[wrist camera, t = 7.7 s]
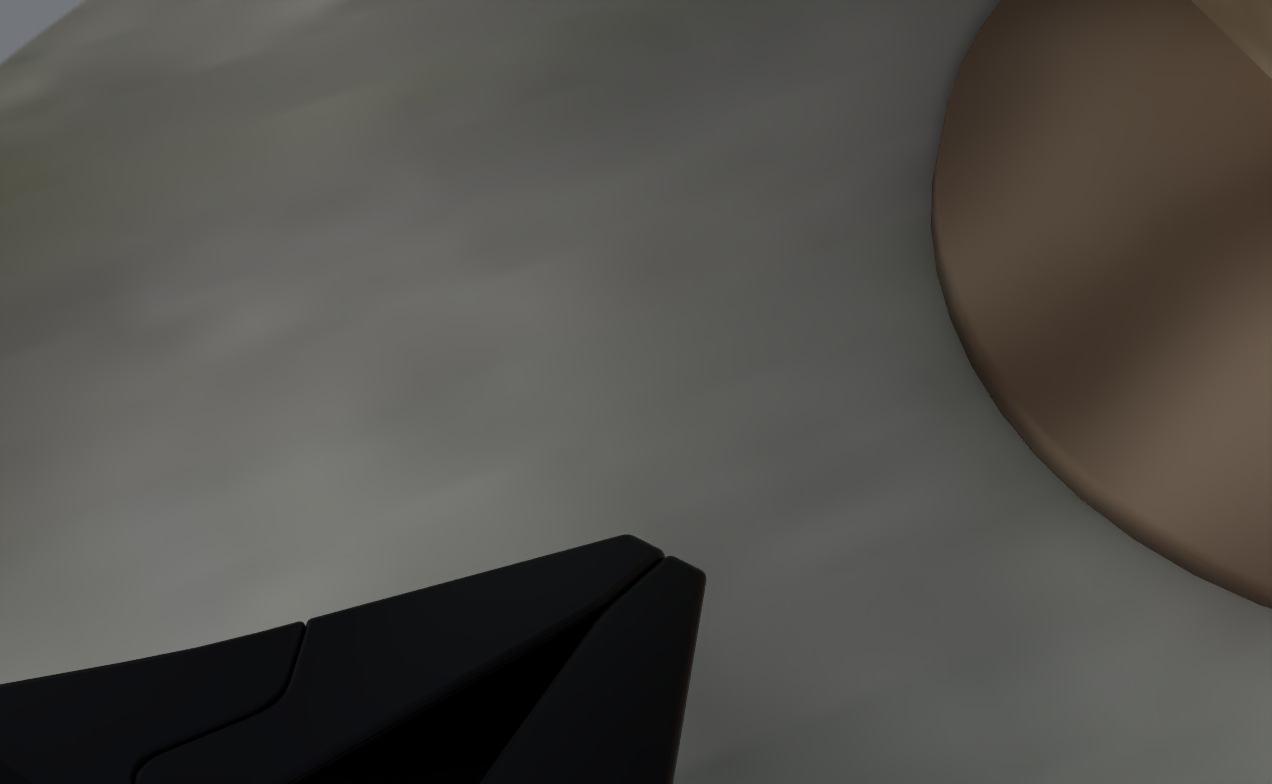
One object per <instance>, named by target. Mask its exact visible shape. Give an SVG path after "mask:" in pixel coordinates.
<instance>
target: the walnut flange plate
mask: <svg viewBox="0 0 1272 784" xmlns="http://www.w3.org/2000/svg"><path fill="white" fill-rule="evenodd" d="M931 228H932V236H933V244H934V251H935V259H936V267H937V273H938V277H939V280H940V284H941V287H942V291H943V294H944V298H945V301H946V305H947V308H948V312H949V315H950V319H951V321H952V323H953V325H954V328H955V330H956V332H957V334H958V337H959V339H960V341H961V343H962V345H963V348H964V350H965V352H966V354H967V357H968V359H969V361H970V363H971V365H972V367H973V369H974V370H975V372H976V373H977V375H978V377H979V378H980V380H981V382H982V383H983V385H984V386H985V388H986V390H987V391H988V393H989V394H990V396H991V398H992V399H993V401H994V402H995V404H996V406H997V407H998V409H999V410H1000V412H1001V413H1002V414H1003V416H1004V417H1005V418H1006V419H1007V420H1008V422H1009V423H1010V424H1011V425H1012V427H1013V428H1014V429H1015V430H1016V431H1017V433H1018V434H1019V435H1020V436H1021V438H1022V439H1023V440H1024V441H1025V442H1026V444H1027V445H1028V446H1029V447H1030V449H1031V450H1032V451H1033V452H1034V453H1035V455H1036V456H1037V457H1038V458H1039V459H1040V460H1041V461H1042V462H1043V463H1044V464H1045V465H1046V466H1047V467H1048V468H1049V469H1050V470H1051V471H1053V472H1054V473H1055V474H1056V475H1057V476H1058V477H1059V478H1060V479H1061V480H1062V481H1063V482H1064V483H1065V484H1066V485H1067V486H1068V487H1069V488H1070V489H1071V490H1072V491H1073V492H1075V493H1076V494H1077V495H1078V496H1079V497H1080V498H1081V499H1082V500H1083V501H1084V502H1086V503H1087V504H1088V505H1090V506H1091V507H1092V508H1094V509H1095V510H1096V511H1098V512H1099V513H1100V514H1102V515H1103V516H1104V517H1105V518H1107V519H1108V520H1109V521H1111V522H1112V523H1113V524H1115V525H1116V526H1117V527H1119V528H1120V529H1121V530H1123V531H1124V532H1125V533H1127V534H1128V535H1129V536H1131V537H1132V538H1133V539H1135V540H1136V541H1138V542H1140V543H1141V544H1143V545H1145V546H1146V547H1148V548H1150V549H1151V550H1153V551H1155V552H1156V553H1158V554H1160V555H1162V556H1163V557H1165V558H1167V559H1168V560H1170V561H1172V562H1173V563H1175V564H1177V565H1178V566H1180V567H1182V568H1183V569H1185V570H1187V571H1188V572H1190V573H1192V574H1193V575H1196V576H1198V577H1200V578H1202V579H1204V580H1207V581H1209V582H1211V583H1213V584H1215V585H1218V586H1220V587H1222V588H1224V589H1226V590H1229V591H1231V592H1233V593H1235V594H1237V595H1239V596H1242V597H1244V598H1246V599H1248V600H1250V601H1253V602H1255V603H1257V604H1259V605H1262V606H1265V607H1268V608H1271V609H1272V0H1001V1H1000V3H999V4H998V5H997V7H996V8H995V9H994V11H993V12H992V13H991V15H990V16H989V17H988V19H987V20H986V21H985V23H984V24H983V26H982V28H981V30H980V31H979V33H978V35H977V37H976V39H975V40H974V42H973V44H972V46H971V48H970V50H969V51H968V53H967V55H966V57H965V59H964V61H963V63H962V65H961V68H960V71H959V74H958V76H957V79H956V82H955V85H954V87H953V90H952V93H951V96H950V99H949V101H948V105H947V110H946V115H945V120H944V125H943V130H942V135H941V140H940V145H939V150H938V156H937V161H936V166H935V172H934V177H933V183H932V218H931Z"/></svg>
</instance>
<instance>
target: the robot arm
mask: <svg viewBox="0 0 1272 784" xmlns="http://www.w3.org/2000/svg"><path fill="white" fill-rule="evenodd" d="M705 585H706V575H705V573H704V572H703V571H702V570H700V569H698V568H696V567H694V566H692V565H690V564H688V563H686V562H684V561H682V560H680V559H678V558H676V557H674V556H667V557H665V555H664V553H663V551H662V550H660V549H658V548H657V547H655V546H653V545H651V544H649V543H647V542H645V541H643V540H641V539H639V538H637V537H635V536H632V535H620V536H617V537H613V538H609V539H605V540H602V541H598V542H594V543H591V544H587V545H583V546H579V547H576V548H572V549H568V550H564V551H561V552H557V553H553V554H550V555H546V556H542V557H538V558H535V559H531V560H527V561H524V562H520V563H516V564H512V565H509V566H505V567H501V568H497V569H494V570H490V571H486V572H483V573H479V574H475V575H471V576H468V577H464V578H460V579H456V580H453V581H449V582H445V583H442V584H438V585H434V586H430V587H427V588H423V589H419V590H416V591H412V592H408V593H404V594H401V595H397V596H393V597H389V598H386V599H382V600H378V601H375V602H371V603H367V604H363V605H360V606H356V607H352V608H349V609H345V610H341V611H337V612H334V613H330V614H326V615H322V616H319V617H315V618H311V619H310V620H308V622H307V624H306V627H305V624H304V623H303V622H300V621H299V622H295V623H291V624H288V625H284V626H280V627H277V628H273V629H269V630H265V631H262V632H258V633H254V634H250V635H245V636H241V637H237V638H233V639H229V640H225V641H221V642H217V643H213V644H209V645H205V646H200V647H196V648H191V649H186V650H181V651H176V652H171V653H166V654H161V655H156V656H152V657H147V658H142V659H137V660H132V661H127V662H121V663H116V664H110V665H105V666H99V667H94V668H88V669H83V670H77V671H72V672H66V673H61V674H55V675H50V676H44V677H38V678H33V679H27V680H22V681H16V682H11V683H5V684H0V784H673V780H674V774H675V768H676V762H677V756H678V750H679V744H680V738H681V732H682V725H683V719H684V713H685V707H686V701H687V695H688V689H689V683H690V677H691V671H692V664H693V658H694V652H695V646H696V640H697V634H698V628H699V622H700V616H701V610H702V603H703V597H704V591H705Z"/></svg>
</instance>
